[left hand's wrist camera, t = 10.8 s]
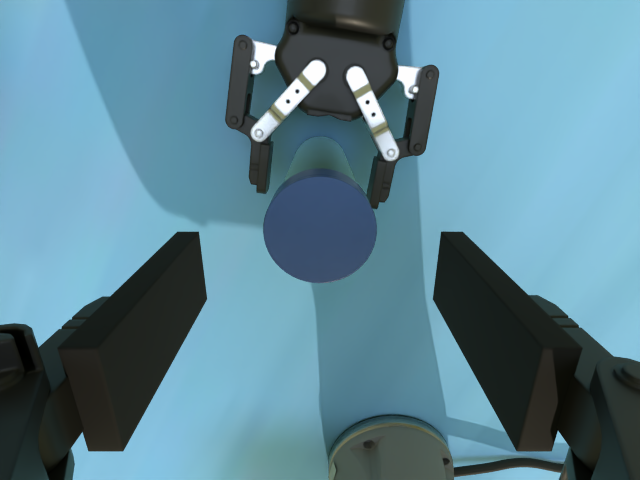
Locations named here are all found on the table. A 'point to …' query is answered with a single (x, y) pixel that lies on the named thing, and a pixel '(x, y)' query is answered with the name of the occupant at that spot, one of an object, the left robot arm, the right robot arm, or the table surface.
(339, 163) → the bottle
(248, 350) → the table surface
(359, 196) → the lid
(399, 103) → the table surface
